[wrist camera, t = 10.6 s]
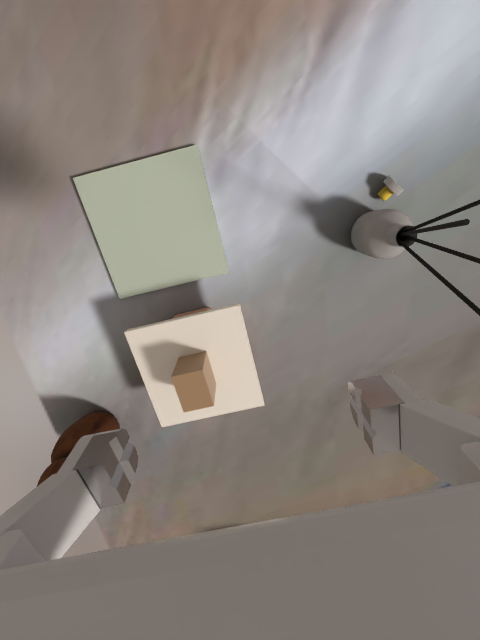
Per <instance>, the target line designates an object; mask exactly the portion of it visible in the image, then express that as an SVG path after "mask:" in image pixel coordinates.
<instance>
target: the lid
mask: <svg viewBox="0 0 480 640" xmlns="http://www.w3.org/2000/svg"><path fill="white" fill-rule="evenodd" d="M124 334H125V336H126V339H127V341H128V344H129V346H130V349H131V351H132V354H133V356H134V359H135V361H136V364H137V366H138V369H139V371H140V374H141V376H142V379H143V381H144V384H145V386H146V389H147V391H148V394H149V396H150V399H151V401H152V404H153V406H154V409H155V411H156V414H157V416H158V419H159V421H160V424H161V426H162V427H166V426H170V425H175V424H180V423H184V422H189V421H194V420H198V419H203V418H208V417H212V416H217V415H222V414H226V413H231V412H236V411H240V410H245V409H250V408H254V407H259V406H264V400H263V396H262V392H261V388H260V384H259V380H258V376H257V372H256V367H255V363H254V359H253V355H252V351H251V347H250V343H249V339H248V335H247V331H246V327H245V323H244V319H243V315H242V311H241V307H240V303H237V304H233V305H229V306H224V307H220V308H216V309H212V310H207V311H203V312H199V313H195V314H190V315H186V316H182V317H178V318H173V319H169V320H165V321H161V322H156V323H152V324H148V325H144V326H139V327H135V328H131V329H127V330H126V331H125V332H124Z"/></svg>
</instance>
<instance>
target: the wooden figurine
mask: <svg viewBox="0 0 480 640" xmlns="http://www.w3.org/2000/svg"><path fill="white" fill-rule="evenodd" d="M117 429H120V427H119V423H118V421H117V419H116V418H115V417H114V416H112V415H111V414H108V413H106V412H94V413H91V414H88V415H86V416H84V417H83V418H81V419H80V420H78V421H77V422H75V423H74V424H72V425H71V426H70V427H69V428H68V429H66V430H65V431H64V433H63V434H62V435H61V436H60V438H59V439H58V441H57V443H56V445H55V447H54V449H53V452H52V455H51V463H52V464H51V465H50V466H49V467H48V468H47V469H46V470H45V471H44V473H43V474H42V476H41V477H40V480H39V482H38V485H37V486H39V485H40V484H41V483H42V482H44V481H45V480H46V479H48V478H49V477H50V476H51V475H53V474H57V472H58V471H59V469H60V468H61V466H62V465H63V463H64V462H65V460H66V459H67V457H68V456H69V454H70V453H71V451H72V450H73V448H74V447H75V445H76V444H77V442H78V441H79V439H80V438H81V437H83V436H86V435H91V434H97V433H101V432H106V431H112V430H117Z"/></svg>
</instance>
